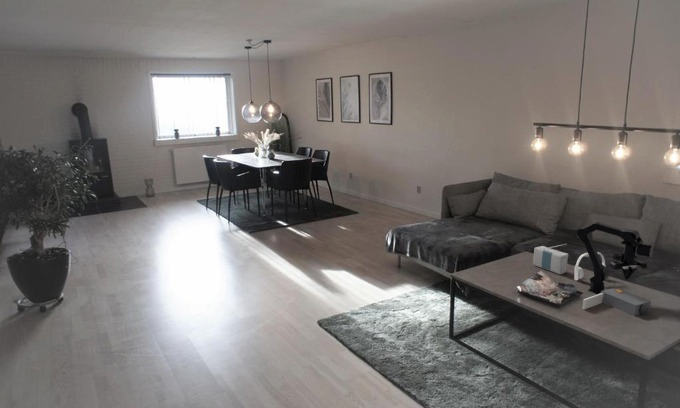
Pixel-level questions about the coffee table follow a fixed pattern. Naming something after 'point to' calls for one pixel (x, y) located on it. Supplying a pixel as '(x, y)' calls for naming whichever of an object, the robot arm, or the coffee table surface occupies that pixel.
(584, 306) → the side door
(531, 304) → the coffee table surface
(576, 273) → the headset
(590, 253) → the robot arm
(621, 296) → the grey slab
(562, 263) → the stereo radio cassette player
